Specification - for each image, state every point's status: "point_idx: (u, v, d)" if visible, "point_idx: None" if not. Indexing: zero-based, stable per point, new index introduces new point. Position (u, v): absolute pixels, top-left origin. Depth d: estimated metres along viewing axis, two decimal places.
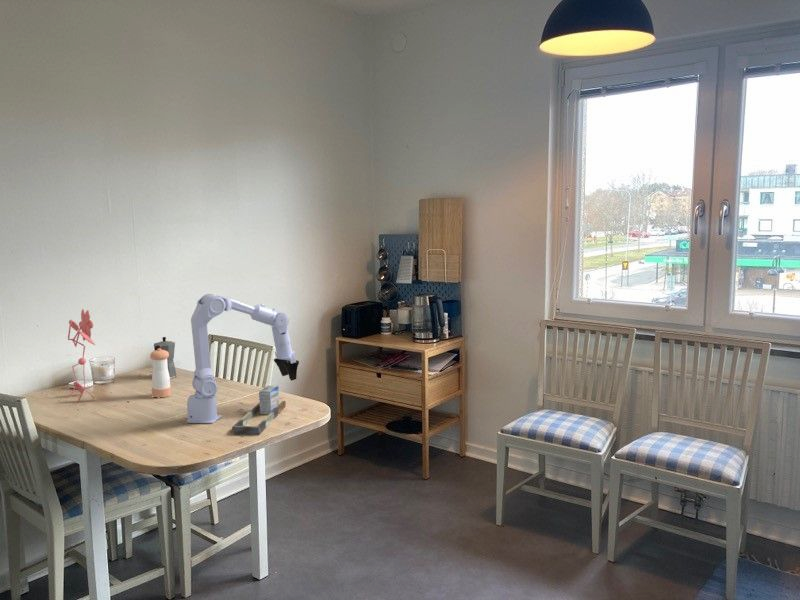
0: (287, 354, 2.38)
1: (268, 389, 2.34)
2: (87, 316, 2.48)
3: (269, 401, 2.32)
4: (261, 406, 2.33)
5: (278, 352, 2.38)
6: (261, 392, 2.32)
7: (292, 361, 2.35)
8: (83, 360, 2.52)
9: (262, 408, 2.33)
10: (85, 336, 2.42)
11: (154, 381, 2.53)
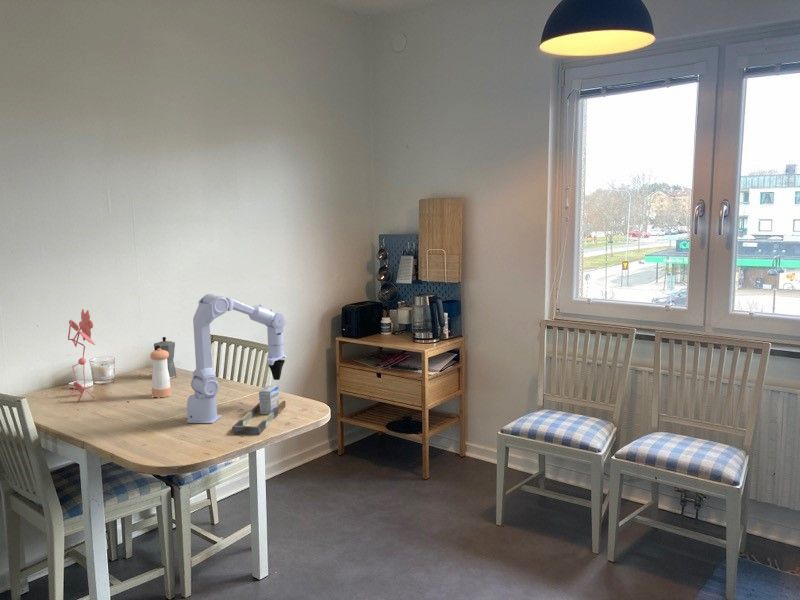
0: (273, 355, 2.40)
1: (268, 389, 2.34)
2: (87, 316, 2.48)
3: (269, 401, 2.32)
4: (261, 406, 2.33)
5: (268, 351, 2.42)
6: (261, 392, 2.32)
7: (269, 363, 2.36)
8: (83, 360, 2.52)
9: (262, 408, 2.33)
10: (85, 336, 2.42)
11: (154, 381, 2.53)
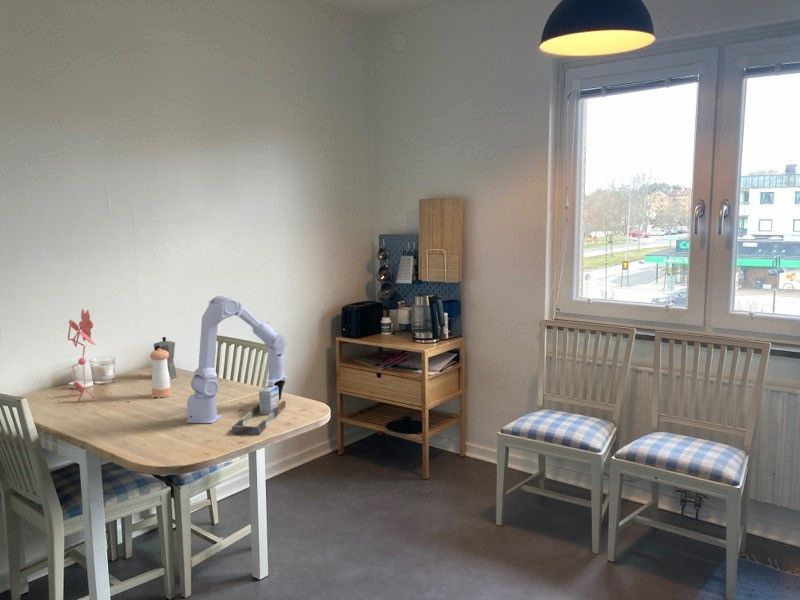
0: (274, 376, 2.41)
1: (268, 389, 2.34)
2: (87, 316, 2.48)
3: (269, 401, 2.32)
4: (261, 406, 2.33)
5: None
6: (261, 392, 2.32)
7: (269, 384, 2.37)
8: (83, 360, 2.52)
9: (262, 408, 2.33)
10: (85, 336, 2.42)
11: (154, 381, 2.53)
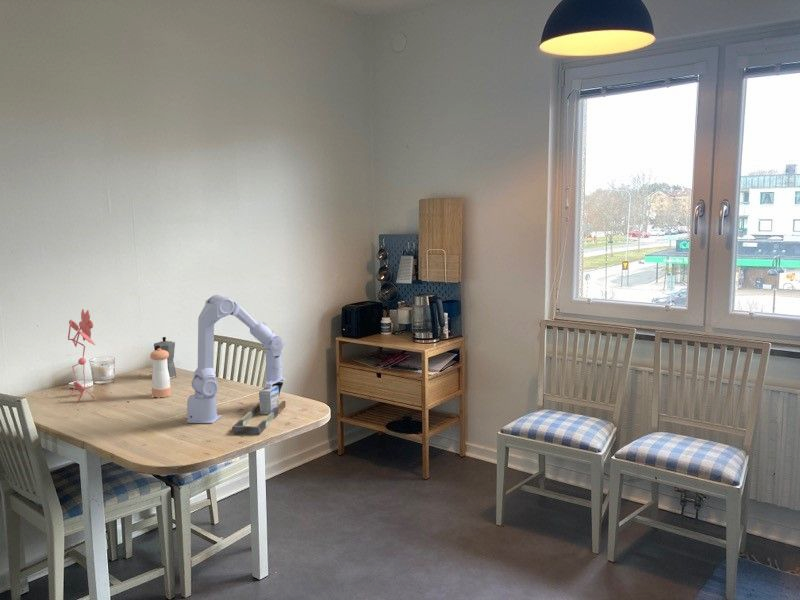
0: (271, 378, 2.39)
1: (268, 389, 2.34)
2: (87, 316, 2.48)
3: (269, 401, 2.32)
4: (261, 406, 2.33)
5: (266, 374, 2.41)
6: (261, 392, 2.32)
7: (267, 386, 2.35)
8: (83, 360, 2.52)
9: (262, 408, 2.33)
10: (85, 336, 2.42)
11: (154, 381, 2.53)
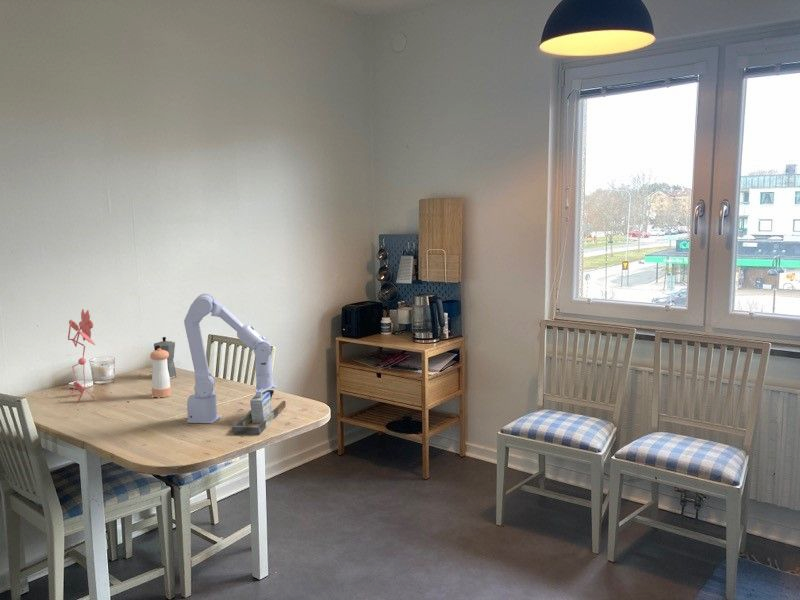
0: (262, 386, 2.27)
1: (259, 397, 2.23)
2: (87, 316, 2.48)
3: (261, 410, 2.21)
4: (254, 415, 2.22)
5: (256, 381, 2.29)
6: (253, 401, 2.21)
7: (257, 394, 2.23)
8: (83, 360, 2.52)
9: (255, 417, 2.22)
10: (85, 336, 2.42)
11: (154, 381, 2.53)
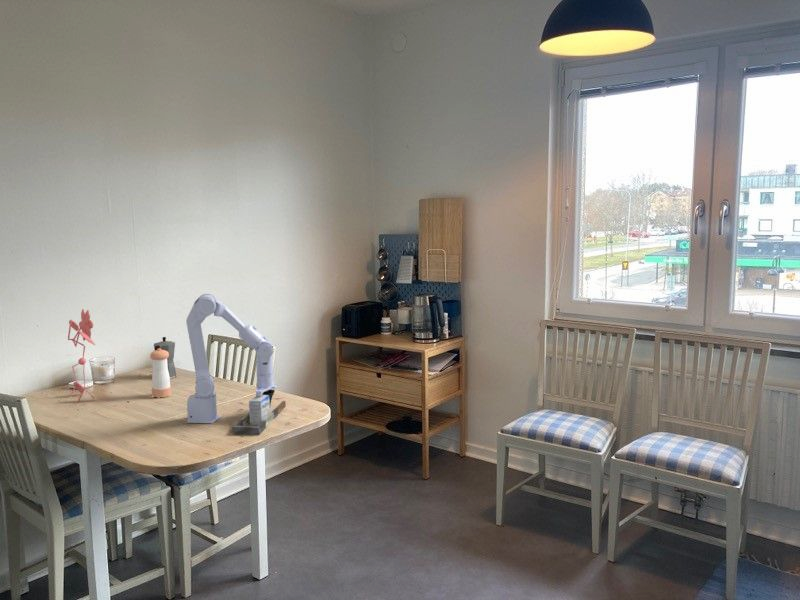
0: (262, 386, 2.28)
1: (258, 399, 2.22)
2: (87, 316, 2.48)
3: (260, 411, 2.20)
4: (252, 417, 2.21)
5: (257, 381, 2.30)
6: (251, 402, 2.20)
7: (257, 394, 2.24)
8: (83, 360, 2.52)
9: (253, 419, 2.21)
10: (85, 336, 2.42)
11: (154, 381, 2.53)
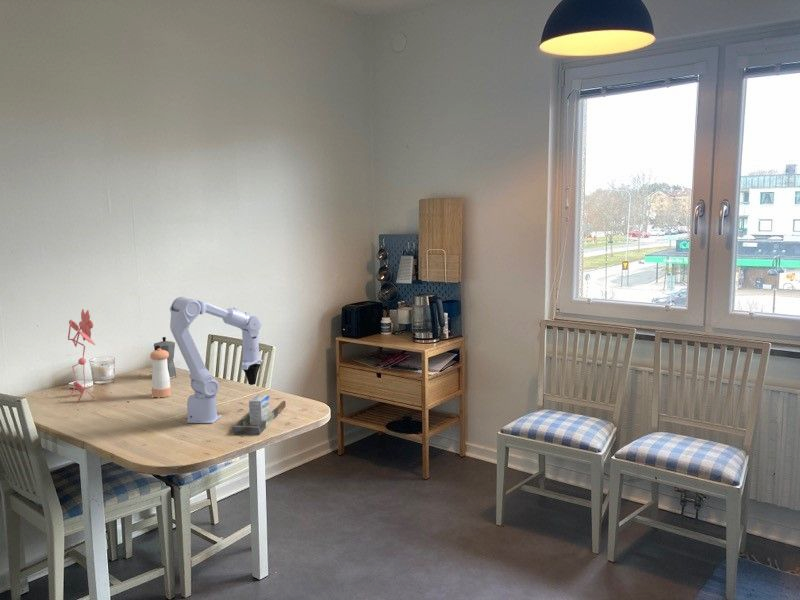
0: (248, 360, 2.34)
1: (258, 399, 2.22)
2: (87, 316, 2.48)
3: (260, 411, 2.20)
4: (252, 417, 2.21)
5: (243, 355, 2.36)
6: (251, 402, 2.20)
7: (243, 367, 2.30)
8: (83, 360, 2.52)
9: (253, 419, 2.21)
10: (85, 336, 2.42)
11: (154, 381, 2.53)
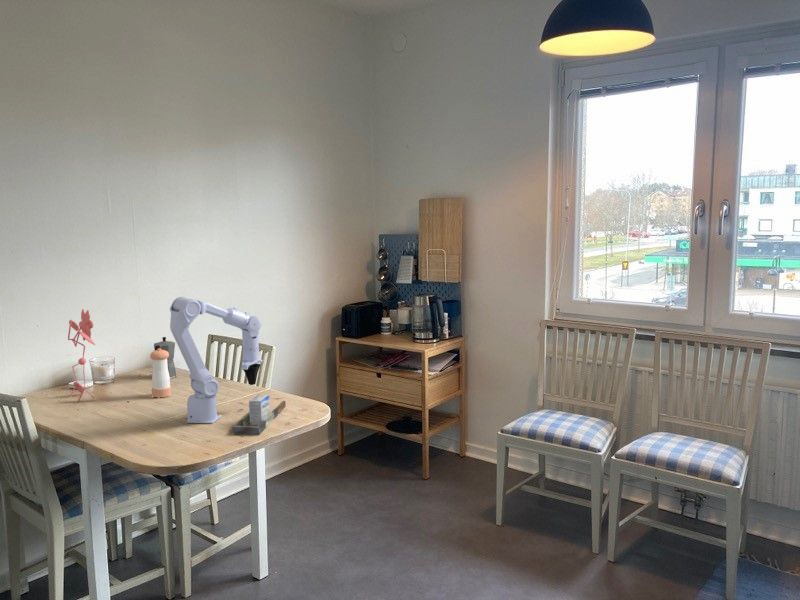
0: (248, 360, 2.34)
1: (258, 399, 2.22)
2: (87, 316, 2.48)
3: (260, 411, 2.20)
4: (252, 417, 2.21)
5: (243, 355, 2.36)
6: (251, 402, 2.20)
7: (243, 367, 2.30)
8: (83, 360, 2.52)
9: (253, 419, 2.21)
10: (85, 336, 2.42)
11: (154, 381, 2.53)
